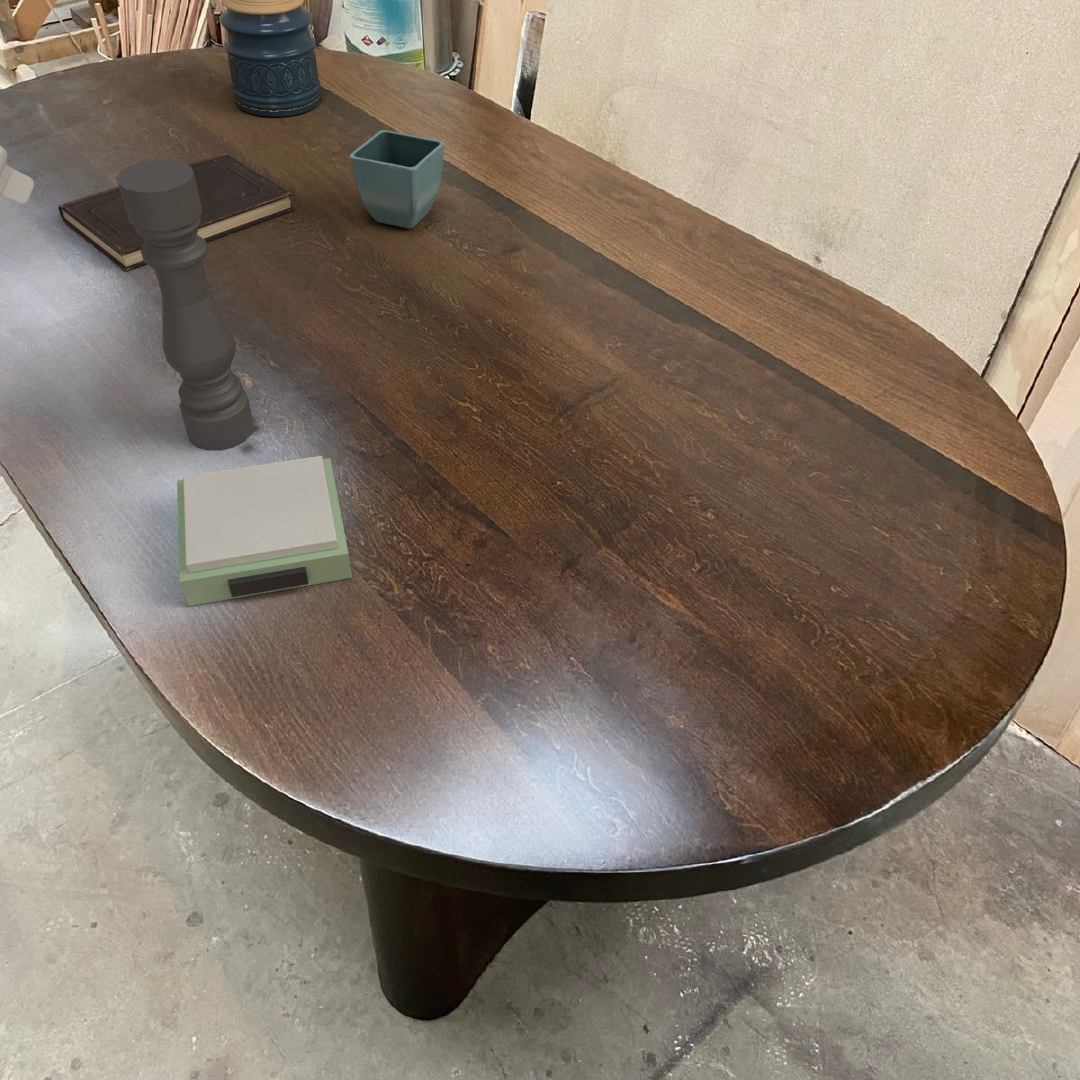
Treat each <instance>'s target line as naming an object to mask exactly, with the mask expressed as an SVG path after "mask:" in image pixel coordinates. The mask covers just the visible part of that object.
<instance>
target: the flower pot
mask: <svg viewBox="0 0 1080 1080" xmlns="http://www.w3.org/2000/svg"><path fill="white" fill-rule="evenodd" d="M444 152H445V142H444V141H443V140H437V139H435V138H434V139H433V138H428V137H423V136H418V135H417V136H416V135H413V134H405V133H401V132H396V131H392V130H387V129H386V130H385V129H380V130H379V131H377V132H376V133H375V134H374V135H373V136H371V137H370V138H369V139H368V140H366V141H365V142H364V143H362V144H361V145H360V146H359V147H357V148H356V149H355V150H354V151H353V152H351V153H350V154H349V162H350V166H351V170H352V174H353V178H354V181H355V182H354V183H355V186H356V191H357V193H358V196H359V198H360V201H361V203H362V205H363V206H364V208H365V209H366V211H367V212H368V213H369V215H370V216H371V217H372V218H373V219H374V221H375V222H377V223H381V224H386V225H391V226H395V227H396V226H397V227H399V228H404V229H408V230H409V229H410V230H411V229H413V228H415V226H417V224H419V222H421V221H422V220H423V219H424V218H425V217H426V216H427V215H428V213H429V212H430V210H431V208H432V207H433V205H434V203H435V200H436V198H437V196H438V193H439V190H440V186H441V183H442V176H443V175H442V174H443V167H444V166H443V164H444V155H445V154H444Z"/></svg>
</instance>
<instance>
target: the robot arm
mask: <svg viewBox="0 0 1080 1080" xmlns="http://www.w3.org/2000/svg"><path fill="white" fill-rule="evenodd" d="M8 155H9V154H8V151H7V150H6V149H5V148H4V147H3V146H2V145H0V196H2V197H4V198H5V199H8V200H10V201H12V202H14V203H16V204H19V205H25V204H26V203H28V202H29V200H30V197H31V195H32V192H33V190H34V188H35V182H34V180H33V178H31V177H30V176H28V175H26V174H25V173H23V172H20V171H18V170H16V169H15V168H13V167H11V166H9V164H7V161H8Z"/></svg>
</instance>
